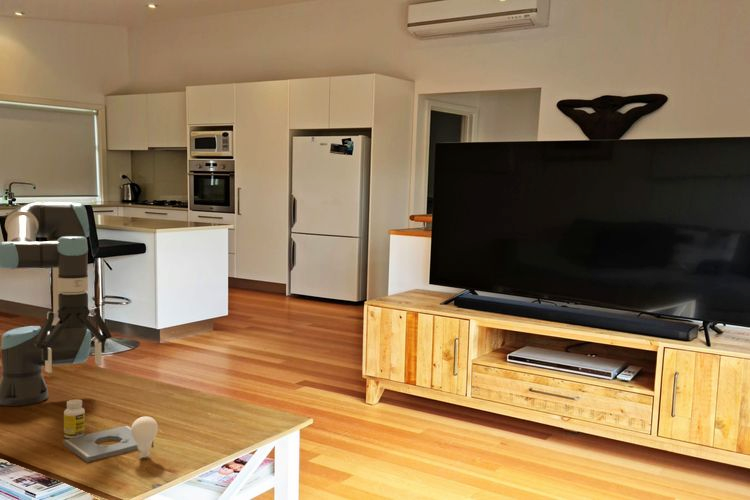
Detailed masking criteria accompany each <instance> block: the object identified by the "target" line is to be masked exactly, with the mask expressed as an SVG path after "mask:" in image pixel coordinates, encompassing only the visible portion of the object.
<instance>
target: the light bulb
mask: <svg viewBox="0 0 750 500" xmlns="http://www.w3.org/2000/svg"><path fill="white" fill-rule="evenodd" d="M158 431H159V426H158V423H157V421H156V420H155V419H154V418H153V417H151V416H146V415H145V416H141V417H138V418H137V419H135V420H134V421H133V423H132V424H131V434H132V437H133V438H134V440H135V441H136V443H137V447H138V449H137V450H138V457H139V458H141V459H147V458H149V457H151V456H150V455H151V449H152V446H153V445H152V442H153V443H154V440H155V438H156V436H157V435H158Z"/></svg>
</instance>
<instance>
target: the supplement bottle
mask: <svg viewBox="0 0 750 500" xmlns="http://www.w3.org/2000/svg"><path fill="white" fill-rule="evenodd" d="M85 417H86V412H85V408H84V407H83V400H82V399H76V398H75V399H70V400H67V401H66V408H65V410H64V411H63V437H65V438H67V439H70V438H75V437H79V436H83V435H86V434H85V433H86V432H85V431H86V429H85V428H86V418H85Z"/></svg>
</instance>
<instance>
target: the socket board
mask: <svg viewBox="0 0 750 500" xmlns="http://www.w3.org/2000/svg"><path fill="white" fill-rule="evenodd" d="M131 427H132V426H131ZM131 427H130V426H129V425H123V426H120V427H115V428H111V429H105V430H100V431H97V432H96V431H95V432H92V433H87V434H84V435H83V436H79V437H75V438H67V439H63V440H62V445H63V446H65V448H67V449H68V450H69V451H71V452H73V453H74V454H75V455H77V456H78V457H79V458H81V459H82V460H84V461H85V462H86V463H89V462H94V461H97V459H98V460H101V459H105V458H109V457H113V456H116V455H120V454H125V453H128V452H131V451H132V452H133V451H135V450H136V451H137V450H138V447H137V443H136V441H135V440H134V438H133V437H132V434H131ZM106 441H119V442H117V443H113V444H108V445H106V444H98V443H101V442H106ZM152 446H154V441H153V442H152Z"/></svg>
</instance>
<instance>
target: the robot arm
mask: <svg viewBox="0 0 750 500" xmlns="http://www.w3.org/2000/svg"><path fill="white" fill-rule="evenodd" d="M4 221H5V223H4V228H5V231H6V234H7V241H1V242H0V269H9V270H10V269H11V270H18V269H21V270H22V269H42V268H43V269H49V268H52V293H53V294H52V297H53V298H52V300H53V302H52V303H53V304H52V305H53V307H52V308H53V311H49V310H48V311H46V314H45V319H44V322H43V324H42V326H40V325H29V326H22V327H21V326H20V327H16V328H13V329H9V330H8V331H6V332H4V333H3V334H2V336H1V338H0V339H1V344H0V350H1V379H0V406H3V407H4V406H5V407H20V406H27V405H28V406H29V405H34V404H38V403H40V402H43V401H45V400H47V399H48V398H49V389H48V386H47V383H46V382H45V378H44V376H43V372H42V371H43V367H44V371H45V372H46V373H48V374H51V373H53V369H52V368H53V367H52V366H61V365H62V366H63V365H74V364H82V363H85V362H86V361H88V360H89V359H88V358H89V356H90V351H91V343H92V335H93V336H94V338H96V339H97V340H94V364H96V365H98V366H101V365H102V358H103V357H102V353H105V342H106V341H107V340H108V339H111V338H112V335H111V333H110V331H109V328H108V327H107V325H106V323H105V321H104V320H103V318H102V316H101V311H100V308H99V307H96V306H93V307H91V308H89V293H88V292H87V291H88V290H89V277H88V266H89V265H88V264H89V263H88V259H89V258H88V257H89V255H88V254H89V253H88V252H89V247H88V239H87V238H88V237H90V224H89V217H88V212H87V209H86V207H85V205H84V204H82V203H79V202H71V201H69V202H68V201H67V202H65V201H64V202H61V201H60V202H59V201H58V202H55V201H54V202H53V201H51V202H43V201H35V202H34V201H33V202H28V203H24V204H22V205H20V206H18V207H16V208H14V209H13V210H11V211H10V212H9V214H8V215H7V216H6V218H5V220H4ZM37 238H46V240H47V241H36V239H37ZM89 315H91V316H92V317H93V319H94V321H95V323H96V324H97V326H98V328H99V330H100V331H99V330H98V329H97V328H96V327H95V326H94V325H93V324H92V323H91V321H89V319H88V316H89ZM100 332H101V333H100Z"/></svg>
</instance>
